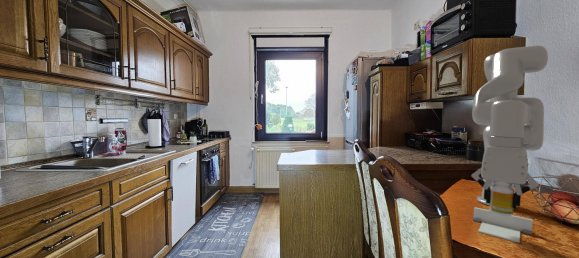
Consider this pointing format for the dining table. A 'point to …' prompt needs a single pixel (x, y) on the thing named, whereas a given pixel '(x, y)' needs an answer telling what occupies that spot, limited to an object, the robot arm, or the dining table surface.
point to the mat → (500, 232)
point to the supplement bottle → (501, 198)
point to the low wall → (503, 220)
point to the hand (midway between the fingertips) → (501, 204)
